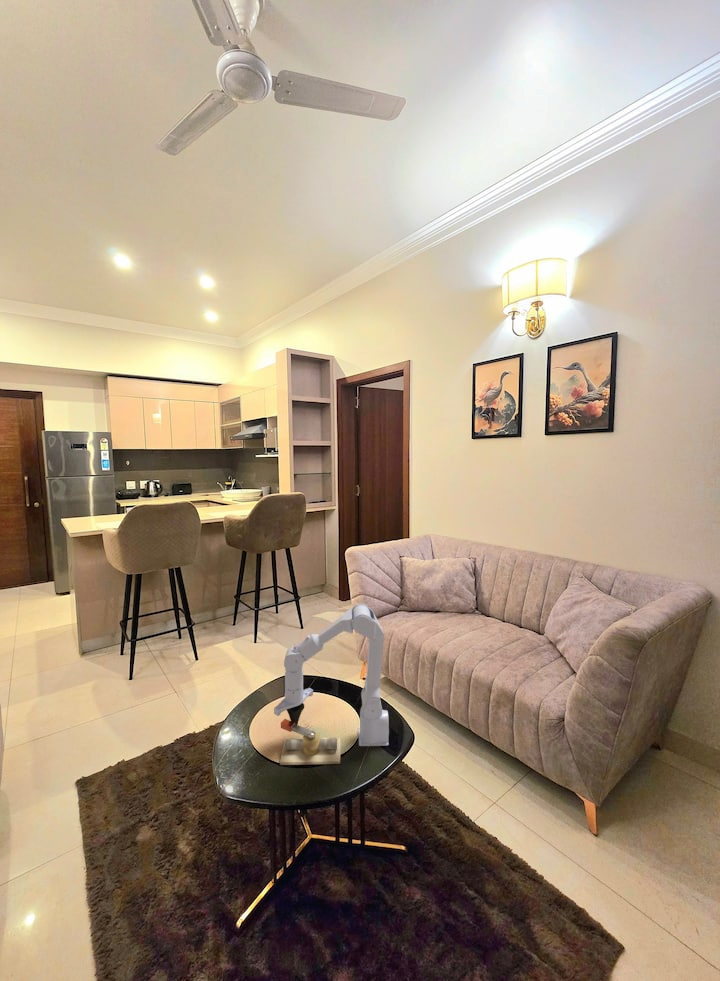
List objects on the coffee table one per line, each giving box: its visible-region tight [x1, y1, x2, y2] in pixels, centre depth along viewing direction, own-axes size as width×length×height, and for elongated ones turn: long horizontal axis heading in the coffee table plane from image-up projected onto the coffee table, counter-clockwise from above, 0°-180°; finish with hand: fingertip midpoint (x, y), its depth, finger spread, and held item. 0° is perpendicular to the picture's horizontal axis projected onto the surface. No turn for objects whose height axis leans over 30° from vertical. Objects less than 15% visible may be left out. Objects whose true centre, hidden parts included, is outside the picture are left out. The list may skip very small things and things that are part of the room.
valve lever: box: [280, 718, 316, 739], centre depth 126 cm, size 12×2×2 cm, turn 63°
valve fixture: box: [279, 731, 341, 766], centre depth 125 cm, size 18×10×5 cm, turn 93°
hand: (294, 725), depth 130 cm, fingers closed
